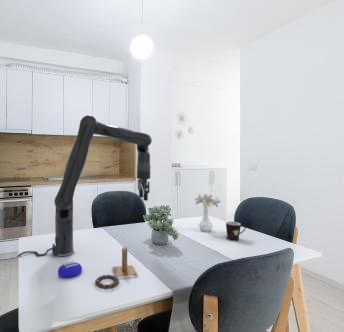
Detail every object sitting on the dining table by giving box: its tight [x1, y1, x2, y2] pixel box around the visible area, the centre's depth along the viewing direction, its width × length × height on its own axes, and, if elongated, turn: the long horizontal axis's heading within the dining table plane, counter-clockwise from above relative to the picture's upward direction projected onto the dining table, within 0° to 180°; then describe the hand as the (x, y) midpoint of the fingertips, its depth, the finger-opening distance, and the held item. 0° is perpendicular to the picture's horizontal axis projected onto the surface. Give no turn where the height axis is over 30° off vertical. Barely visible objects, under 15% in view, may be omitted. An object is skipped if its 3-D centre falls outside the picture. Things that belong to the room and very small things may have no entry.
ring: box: [94, 274, 120, 290], centre depth 99 cm, size 10×10×2 cm
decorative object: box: [57, 260, 83, 279], centre depth 107 cm, size 10×6×10 cm
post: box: [112, 247, 138, 278], centre depth 109 cm, size 9×9×11 cm
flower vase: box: [194, 193, 221, 232], centre depth 170 cm, size 13×18×25 cm
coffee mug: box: [225, 220, 246, 242], centre depth 152 cm, size 12×9×10 cm
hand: (143, 199), depth 137 cm, fingers open, 8 cm apart
